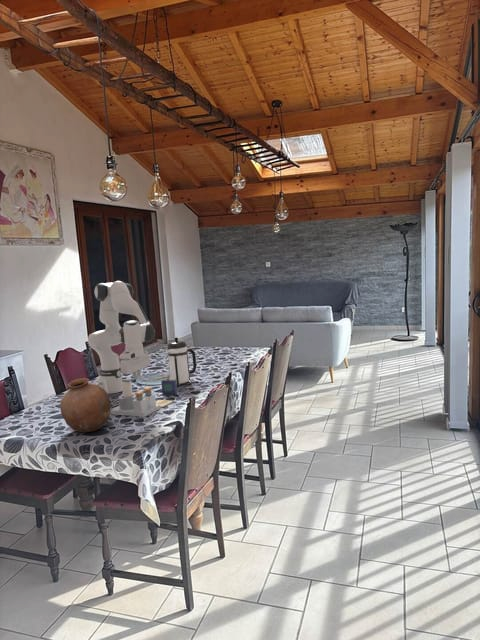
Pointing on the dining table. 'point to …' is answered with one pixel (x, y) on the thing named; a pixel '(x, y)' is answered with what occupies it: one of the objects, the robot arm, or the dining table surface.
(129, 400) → the housing
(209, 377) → the dining table surface
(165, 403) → the trivet
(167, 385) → the dark blue rectangular block
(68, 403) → the pottery
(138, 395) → the plunger
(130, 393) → the cartridge
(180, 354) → the coffee press
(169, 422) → the dining table surface
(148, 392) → the plunger
